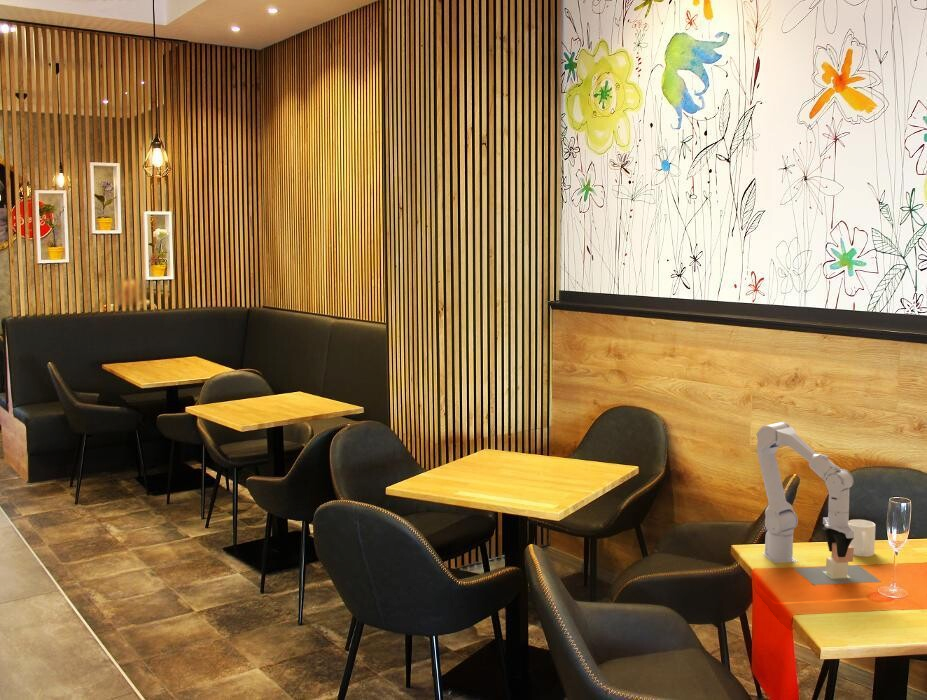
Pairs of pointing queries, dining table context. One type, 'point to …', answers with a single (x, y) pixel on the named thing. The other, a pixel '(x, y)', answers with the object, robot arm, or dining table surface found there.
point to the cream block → (836, 568)
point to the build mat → (822, 577)
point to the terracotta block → (842, 559)
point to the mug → (863, 537)
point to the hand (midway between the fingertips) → (837, 553)
